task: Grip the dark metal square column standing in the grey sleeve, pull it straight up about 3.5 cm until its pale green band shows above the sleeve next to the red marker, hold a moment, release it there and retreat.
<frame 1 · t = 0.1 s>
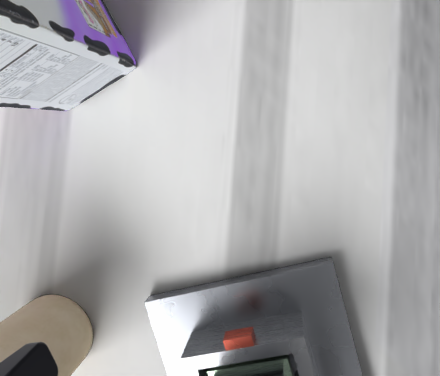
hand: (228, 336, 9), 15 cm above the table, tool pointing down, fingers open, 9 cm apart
stand base: (261, 363, 25), on the table
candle: (59, 328, 28), on the table
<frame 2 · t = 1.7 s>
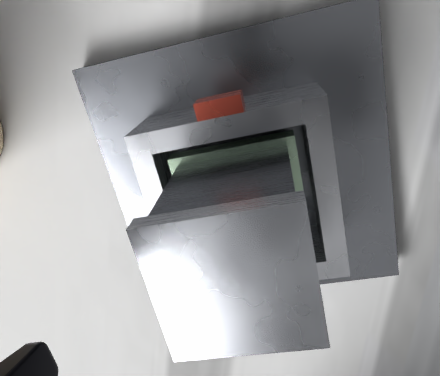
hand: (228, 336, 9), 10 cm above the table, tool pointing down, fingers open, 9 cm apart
column: (240, 221, 14), point 5 cm above the table, slide at 0.0 cm
stand base: (246, 171, 18), on the table
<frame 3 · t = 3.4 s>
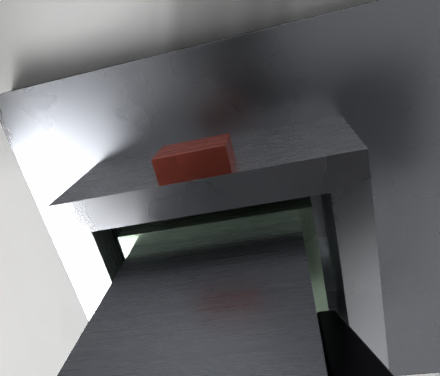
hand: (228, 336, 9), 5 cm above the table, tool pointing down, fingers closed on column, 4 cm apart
column: (227, 339, 9), point 5 cm above the table, slide at 0.0 cm, touching gripper
stand base: (240, 230, 13), on the table
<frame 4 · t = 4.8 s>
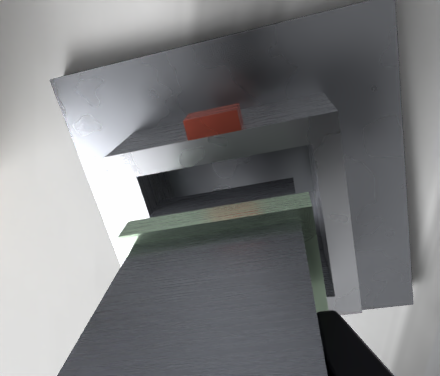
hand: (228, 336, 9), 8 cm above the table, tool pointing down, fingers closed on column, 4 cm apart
column: (227, 338, 9), point 8 cm above the table, slide at 3.4 cm, touching gripper
stand base: (245, 189, 16), on the table
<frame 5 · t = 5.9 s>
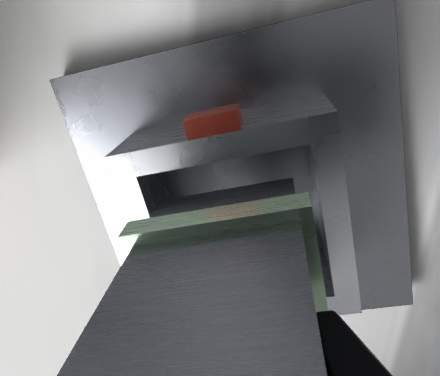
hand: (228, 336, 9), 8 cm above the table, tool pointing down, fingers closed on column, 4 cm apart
column: (227, 338, 9), point 8 cm above the table, slide at 3.4 cm, touching gripper
stand base: (245, 189, 16), on the table
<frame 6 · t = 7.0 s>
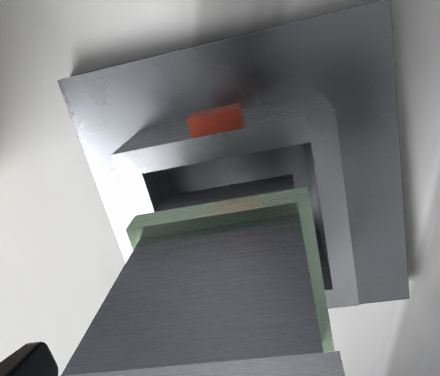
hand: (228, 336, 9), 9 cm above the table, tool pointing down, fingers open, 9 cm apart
column: (230, 325, 9), point 8 cm above the table, slide at 3.4 cm
stand base: (246, 187, 17), on the table
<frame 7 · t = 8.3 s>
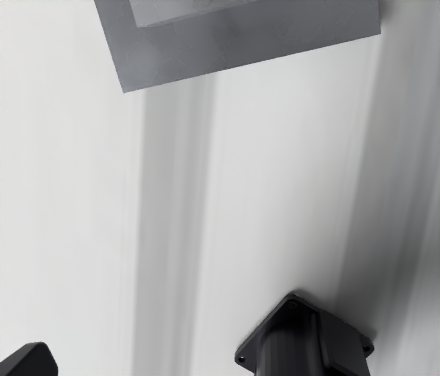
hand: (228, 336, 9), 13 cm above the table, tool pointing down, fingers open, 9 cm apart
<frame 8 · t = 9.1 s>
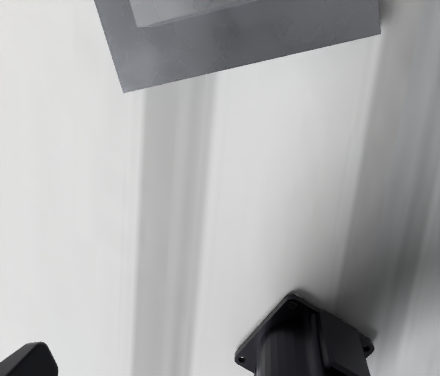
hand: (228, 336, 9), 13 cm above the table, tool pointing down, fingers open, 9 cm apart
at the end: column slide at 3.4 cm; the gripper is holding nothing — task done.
